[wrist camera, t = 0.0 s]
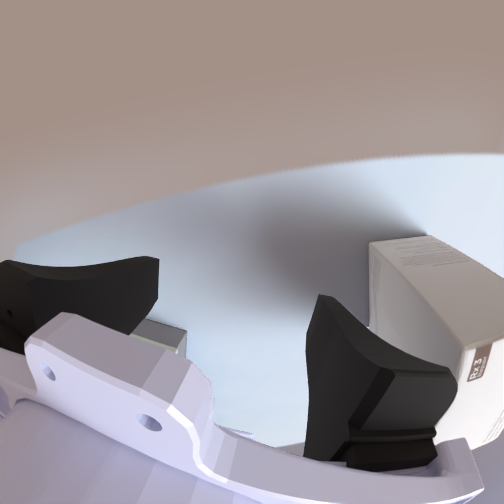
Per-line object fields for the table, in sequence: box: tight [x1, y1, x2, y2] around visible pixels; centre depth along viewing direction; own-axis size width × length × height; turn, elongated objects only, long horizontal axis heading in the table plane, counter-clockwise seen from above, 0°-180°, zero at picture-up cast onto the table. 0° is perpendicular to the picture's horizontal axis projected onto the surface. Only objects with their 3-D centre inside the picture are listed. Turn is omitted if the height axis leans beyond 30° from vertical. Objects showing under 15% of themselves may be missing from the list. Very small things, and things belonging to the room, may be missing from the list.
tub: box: [132, 318, 187, 358], centre depth 25 cm, size 10×8×3 cm
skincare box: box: [369, 235, 504, 450], centre depth 13 cm, size 8×6×15 cm
